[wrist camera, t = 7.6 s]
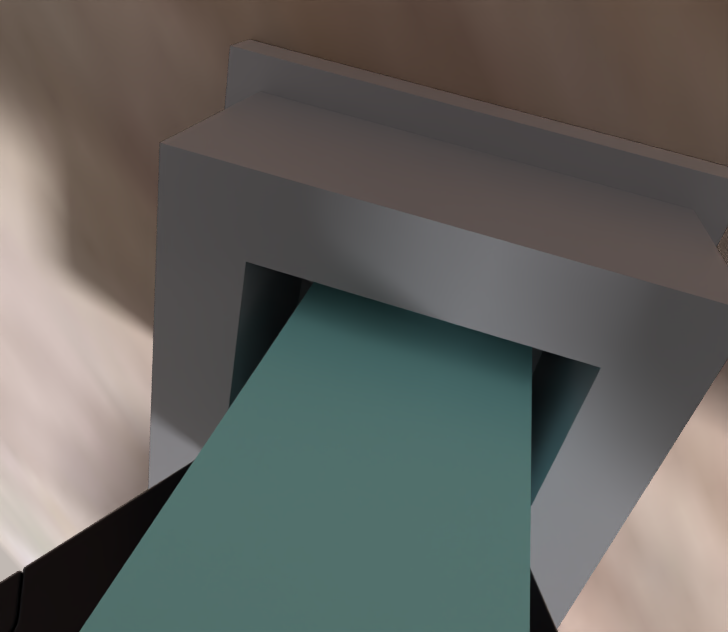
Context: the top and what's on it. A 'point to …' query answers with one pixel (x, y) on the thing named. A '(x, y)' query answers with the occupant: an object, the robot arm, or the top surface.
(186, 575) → the teal peg
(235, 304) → the socket block
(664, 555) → the top surface
